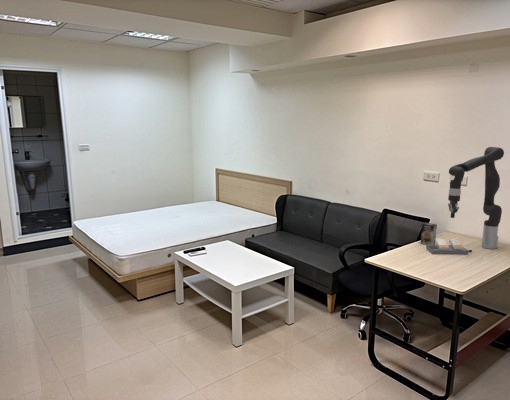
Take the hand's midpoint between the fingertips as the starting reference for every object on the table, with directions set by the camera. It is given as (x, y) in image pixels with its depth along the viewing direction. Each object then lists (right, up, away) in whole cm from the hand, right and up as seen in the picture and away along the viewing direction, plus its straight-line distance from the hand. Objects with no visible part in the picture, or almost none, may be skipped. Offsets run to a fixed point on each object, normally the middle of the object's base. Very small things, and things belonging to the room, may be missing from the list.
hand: (452, 217), depth 280 cm
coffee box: (-9, -22, +20) cm, 31 cm away
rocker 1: (-7, -20, +1) cm, 21 cm away
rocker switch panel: (0, -25, +2) cm, 25 cm away
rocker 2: (+3, -20, +1) cm, 20 cm away
